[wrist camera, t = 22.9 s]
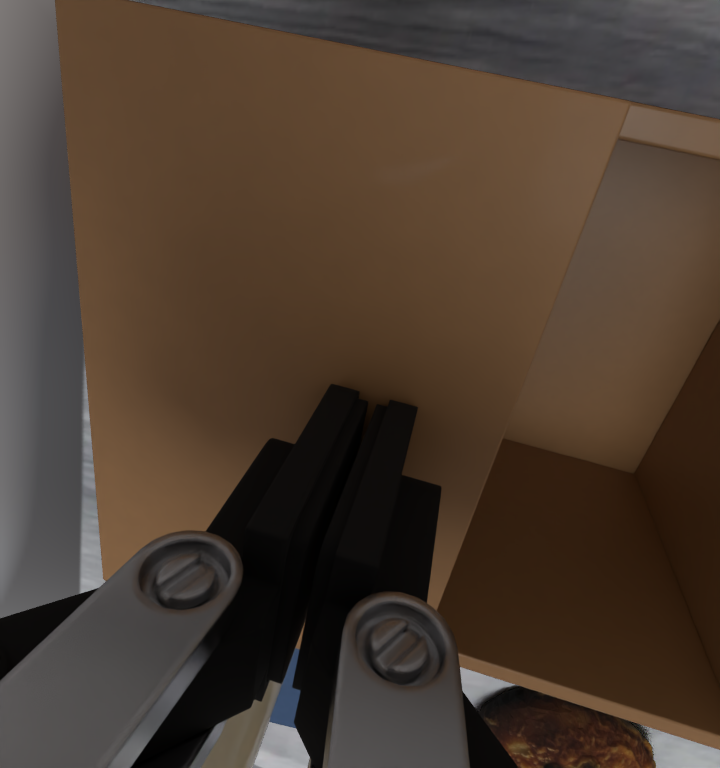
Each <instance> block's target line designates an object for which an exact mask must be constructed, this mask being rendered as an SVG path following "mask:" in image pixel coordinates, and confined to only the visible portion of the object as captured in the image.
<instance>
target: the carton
mask: <svg viewBox="0 0 720 768" xmlns="http://www.w3.org/2000/svg"><path fill="white" fill-rule="evenodd" d="M127 1H129V0H127ZM132 2H134V1H132ZM137 3H139V2H137ZM142 4H144V3H142ZM147 5H149V4H147ZM152 6H154V5H152ZM157 7H159V6H157ZM162 8H164V7H162ZM167 9H169V8H167ZM172 10H174V9H172ZM177 11H179V10H177ZM182 12H184V11H182ZM187 13H189V12H187ZM192 14H194V13H192ZM197 15H199V14H197ZM202 16H204V15H202ZM207 17H209V16H207ZM212 18H214V17H212ZM217 19H219V18H217ZM222 20H224V19H222ZM227 21H229V20H227ZM232 22H234V21H232ZM237 23H239V22H237ZM242 24H244V23H242ZM247 25H249V24H247ZM252 26H254V25H252ZM257 27H259V26H257ZM262 28H264V27H262ZM267 29H269V28H267ZM272 30H273V29H272ZM277 31H278V30H277ZM282 32H283V31H282ZM287 33H288V32H287ZM292 34H293V33H292ZM297 35H298V34H297ZM302 36H303V35H302ZM307 37H308V36H307ZM312 38H313V37H312ZM317 39H318V38H317ZM322 40H323V39H322ZM327 41H328V40H327ZM332 42H333V41H332ZM337 43H338V42H337ZM342 44H343V43H342ZM347 45H348V44H347ZM352 46H353V45H352ZM357 47H358V46H357ZM362 48H363V47H362ZM367 49H368V48H367ZM372 50H373V49H372ZM377 51H378V50H377ZM382 52H383V51H382ZM387 53H388V52H387ZM392 54H393V53H392ZM397 55H398V54H397ZM629 102H631V101H629ZM437 612H438V613H439V614H440V615H441V616H442V617H443V618H444V619H445V620H446V622H447V624H448V625H449V627H450V629H451V630H452V632H453V634H454V637H455V641H456V645H457V648H458V655H459V664H460V667H462V668H466V669H469V670H472V671H475V672H478V673H481V674H484V675H487V676H491V677H494V678H497V679H500V680H503V681H506V682H509V683H512V684H516V685H519V686H522V687H525V688H528V689H531V690H534V691H538V692H541V693H544V694H547V695H550V696H553V697H556V698H559V699H563V700H566V701H569V702H572V703H575V704H578V705H581V706H584V707H588V708H591V709H594V710H597V711H600V712H603V713H606V714H609V715H613V716H616V717H619V718H622V719H625V720H628V721H631V722H634V723H638V724H641V725H644V726H647V727H650V728H653V729H656V730H660V731H663V732H666V733H669V734H672V735H675V736H678V737H681V738H685V739H688V740H691V741H694V742H697V743H700V744H703V745H706V746H710V747H713V748H716V749H719V750H720V119H716V118H711V117H706V116H701V115H696V114H691V113H686V112H681V111H676V110H671V109H666V108H661V107H656V106H651V105H646V104H641V103H636V102H631V106H630V108H629V111H628V114H627V116H626V119H625V121H624V124H623V127H622V129H621V132H620V134H619V137H618V140H617V142H616V145H615V147H614V150H613V153H612V155H611V158H610V160H609V163H608V166H607V168H606V171H605V173H604V176H603V179H602V181H601V184H600V187H599V189H598V192H597V194H596V197H595V200H594V202H593V205H592V207H591V210H590V213H589V215H588V218H587V220H586V223H585V226H584V228H583V231H582V233H581V236H580V239H579V241H578V244H577V246H576V249H575V252H574V254H573V257H572V259H571V262H570V265H569V267H568V270H567V272H566V275H565V278H564V280H563V283H562V286H561V288H560V291H559V293H558V296H557V299H556V301H555V304H554V306H553V309H552V312H551V314H550V317H549V319H548V322H547V325H546V327H545V330H544V332H543V335H542V338H541V340H540V343H539V345H538V348H537V351H536V353H535V356H534V358H533V361H532V364H531V366H530V369H529V371H528V374H527V377H526V379H525V382H524V385H523V387H522V390H521V392H520V395H519V398H518V400H517V403H516V405H515V408H514V411H513V413H512V416H511V418H510V421H509V424H508V426H507V429H506V431H505V434H504V437H503V439H502V442H501V444H500V447H499V450H498V452H497V455H496V457H495V460H494V463H493V465H492V468H491V470H490V473H489V476H488V478H487V481H486V483H485V486H484V489H483V491H482V494H481V497H480V499H479V502H478V504H477V507H476V510H475V512H474V515H473V517H472V520H471V523H470V525H469V528H468V530H467V533H466V536H465V538H464V541H463V543H462V546H461V549H460V551H459V554H458V556H457V559H456V562H455V564H454V567H453V569H452V572H451V575H450V577H449V580H448V582H447V585H446V588H445V590H444V593H443V596H442V598H441V601H440V603H439V606H438V609H437Z"/></svg>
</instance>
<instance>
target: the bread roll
mask: <svg viewBox="0 0 720 768" xmlns="http://www.w3.org/2000/svg"><path fill="white" fill-rule="evenodd" d="M482 707H483V708H482V710H480V711H479V710H478V711H477V712H478V713H479V714H480V716H481V717H482V718H483V720H484V721H485V723H486V724H487V725H488V727H489V728H490V729H491V731H492V732H493V733H494V735H495V736H496V737H497V739H498V740H499V742H500V743H501V744H502V746H503V747H504V748H505V750H506V751H507V752H508V754H509V755H510V756H511V758H512V759H513V761H514V762H515V763H516V765H517V766H518V767H519V768H656V763H655V761H654V760H653V752H652V747H651V745H650V744H649V742H648V741H647V740H646V739H645V737H644V736H643V735H642V734H641V733H640V732H639V731H638V730H637V729H636V728H635V727H634V726H633V725H632V724H631V723H629V722H628V721H627V720H625V719H622V718H619V717H616V716H613V715H609V714H606V713H603V712H600V711H597V710H594V709H591V708H588V707H584V706H581V705H578V704H575V703H572V702H569V701H566V700H563V699H559V698H556V697H553V696H550V695H547V694H544V693H541V692H538V691H534V690H531V689H528V688H524V687H519V688H518V689H517V688H515V689H513V690H510V691H506V692H504V693H503V694H501V695H498V696H497V697H495V698H493V699H491V700H490V701H487V702H485V703H484V704H483V706H482Z"/></svg>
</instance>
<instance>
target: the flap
mask: <svg viewBox="0 0 720 768" xmlns="http://www.w3.org/2000/svg"><path fill="white" fill-rule="evenodd" d="M55 7H56V19H57V30H58V43H59V54H60V66H61V79H62V91H63V102H64V114H65V126H66V138H67V150H68V162H69V173H70V186H71V197H72V210H73V222H74V234H75V246H76V258H77V268H78V269H77V270H78V282H79V293H80V305H81V318H82V330H83V341H84V353H85V365H86V377H87V389H88V401H89V413H90V425H91V437H92V449H93V461H94V473H95V485H96V497H97V509H98V521H99V533H100V545H101V557H102V568H103V579H104V580H106V581H107V580H108V579H109V578H110V577H111V576H112V575H113V574H114V573H115V572H116V571H118V570H119V569H120V568H121V567H122V566H123V565H124V564H125V563H126V562H127V561H128V560H129V559H130V558H131V557H132V556H133V555H135V554H136V553H137V552H138V551H139V550H140V549H141V548H143V547H144V546H145V545H147V544H148V543H150V542H151V541H152V540H154V539H156V538H159V537H161V536H164V535H166V534H169V533H173V532H179V531H185V530H194V531H206V530H207V528H208V527H209V525H210V524H211V523H212V521H213V520H214V518H215V517H216V515H217V514H218V512H219V511H220V509H221V508H222V506H223V505H224V504H225V502H226V501H227V499H228V498H229V496H230V495H231V493H232V492H233V490H234V489H235V487H236V486H237V485H238V483H239V482H240V480H241V479H242V477H243V476H244V474H245V473H246V471H247V470H248V468H249V467H250V466H251V464H252V463H253V461H254V460H255V458H256V457H257V455H258V454H259V452H260V451H261V449H262V448H263V447H264V445H265V444H266V442H267V441H268V440H269V439H271V438H275V439H279V440H282V441H286V442H289V443H293V444H295V443H296V442H297V440H298V438H299V436H300V435H301V433H302V431H303V430H304V428H305V426H306V425H307V423H308V421H309V420H310V418H311V416H312V415H313V413H314V411H315V409H316V408H317V406H318V404H319V403H320V401H321V399H322V398H323V396H324V394H325V393H326V391H327V389H328V388H329V386H330V385H331V384H335V385H339V386H343V387H346V388H350V389H354V390H357V391H359V392H360V394H359V399H361V400H365V401H368V407H367V412H366V417H365V421H364V426H363V430H362V435H361V439H360V443H359V448H360V446H361V443H362V441H363V438H364V436H365V433H366V430H367V428H368V425H369V423H370V420H371V418H372V415H373V413H374V410H375V407H376V405H377V404H380V405H383V406H387V407H388V404H389V401H390V400H394V401H398V402H401V403H405V404H409V405H413V406H416V407H418V410H417V414H416V418H415V422H414V426H413V430H412V434H411V439H410V443H409V447H408V451H407V455H406V459H405V463H404V467H403V471H402V475H404V476H408V477H411V478H415V479H418V480H422V481H425V482H429V483H432V484H436V485H439V486H441V488H442V489H441V499H440V506H439V514H438V522H437V530H436V537H435V545H434V553H433V560H432V568H431V576H430V584H429V591H428V599H427V604H429V605H431V606H432V607H433V608H434V609H435V610H436V611H437V609H438V606H439V603H440V601H441V598H442V596H443V593H444V590H445V588H446V585H447V582H448V580H449V577H450V575H451V572H452V569H453V567H454V564H455V562H456V559H457V556H458V554H459V551H460V549H461V546H462V543H463V541H464V538H465V536H466V533H467V530H468V528H469V525H470V523H471V520H472V517H473V515H474V512H475V510H476V507H477V504H478V502H479V499H480V497H481V494H482V491H483V489H484V486H485V483H486V481H487V478H488V476H489V473H490V470H491V468H492V465H493V463H494V460H495V457H496V455H497V452H498V450H499V447H500V444H501V442H502V439H503V437H504V434H505V431H506V429H507V426H508V424H509V421H510V418H511V416H512V413H513V411H514V408H515V405H516V403H517V400H518V398H519V395H520V392H521V390H522V387H523V385H524V382H525V379H526V377H527V374H528V371H529V369H530V366H531V364H532V361H533V358H534V356H535V353H536V351H537V348H538V345H539V343H540V340H541V338H542V335H543V332H544V330H545V327H546V325H547V322H548V319H549V317H550V314H551V312H552V309H553V306H554V304H555V301H556V299H557V296H558V293H559V291H560V288H561V286H562V283H563V280H564V278H565V275H566V272H567V270H568V267H569V265H570V262H571V259H572V257H573V254H574V252H575V249H576V246H577V244H578V241H579V239H580V236H581V233H582V231H583V228H584V226H585V223H586V220H587V218H588V215H589V213H590V210H591V207H592V205H593V202H594V200H595V197H596V194H597V192H598V189H599V187H600V184H601V181H602V179H603V176H604V173H605V171H606V168H607V166H608V163H609V160H610V158H611V155H612V153H613V150H614V147H615V145H616V142H617V140H618V137H619V134H620V132H621V129H622V127H623V124H624V121H625V119H626V116H627V114H628V111H629V108H630V106H631V102H629V101H628V100H623V99H618V98H613V97H608V96H603V95H598V94H593V93H588V92H583V91H578V90H573V89H568V88H563V87H558V86H553V85H548V84H543V83H538V82H533V81H528V80H523V79H518V78H513V77H508V76H503V75H498V74H493V73H488V72H483V71H478V70H473V69H468V68H463V67H458V66H453V65H448V64H443V63H438V62H433V61H428V60H423V59H418V58H413V57H408V56H403V55H397V54H392V53H387V52H382V51H377V50H372V49H367V48H362V47H357V46H352V45H347V44H342V43H337V42H332V41H327V40H322V39H317V38H312V37H307V36H302V35H297V34H292V33H287V32H282V31H277V30H272V29H267V28H262V27H257V26H252V25H247V24H242V23H237V22H232V21H227V20H222V19H217V18H212V17H207V16H202V15H197V14H192V13H187V12H182V11H177V10H172V9H167V8H162V7H157V6H152V5H147V4H142V3H137V2H132V1H127V0H55ZM359 448H358V451H359ZM357 453H358V452H357ZM304 625H305V623H304ZM303 630H304V626H303V629H302V631H301V634H300V637H299V639H298V642H297V645H296V648H297V649H300V645H301V640H302V635H303Z"/></svg>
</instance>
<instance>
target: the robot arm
mask: <svg viewBox="0 0 720 768" xmlns="http://www.w3.org/2000/svg"><path fill="white" fill-rule="evenodd" d="M359 394H360V392H359V391H357V390H354V389H350V388H346V387H343V386H339V385H335V384H331V385H330V386H329V388H328V389H327V391H326V393H325V394H324V396H323V398H322V399H321V401H320V403H319V404H318V406H317V408H316V409H315V411H314V413H313V415H312V416H311V418H310V420H309V421H308V423H307V425H306V426H305V428H304V430H303V431H302V433H301V435H300V436H299V438H298V440H297V442H296V443H295V444H293V443H289V442H286V441H282V440H279V439H275V438H271V439H269V440H268V441H267V442H266V444H265V445H264V447H263V448H262V449H261V451H260V452H259V454H258V455H257V457H256V458H255V460H254V461H253V463H252V464H251V466H250V467H249V468H248V470H247V471H246V473H245V474H244V476H243V477H242V479H241V480H240V482H239V483H238V485H237V486H236V487H235V489H234V490H233V492H232V493H231V495H230V496H229V498H228V499H227V501H226V502H225V504H224V505H223V506H222V508H221V509H220V511H219V512H218V514H217V515H216V517H215V518H214V520H213V521H212V523H211V524H210V525H209V527H208V528H207V530H206V531H194V530H185V531H179V532H173V533H169V534H166V535H164V536H161V537H159V538H156V539H154V540H152V541H151V542H150V543H148V544H147V545H145V546H144V547H143V548H141V549H140V550H139V551H138V552H137V553H136V554H135V555H133V556H132V557H131V558H130V559H129V560H128V561H127V562H126V563H125V564H124V565H123V566H122V567H121V568H120V569H119V570H118V571H116V572H115V573H114V574H113V575H112V576H111V577H110V578H109V579H108V580H107V581H106V582H105V583H104V584H103V585H102V586H101V587H99V588H97V589H94V590H91V591H88V592H84V593H81V594H78V595H75V596H71V597H68V598H65V599H62V600H58V601H55V602H52V603H49V604H46V605H42V606H39V607H36V608H32V609H29V610H26V611H23V612H20V613H16V614H13V615H10V616H7V617H4V618H0V768H201V767H202V765H203V764H204V762H205V760H206V759H207V757H208V755H209V754H210V752H211V750H212V749H213V747H214V745H215V744H216V742H217V740H218V739H219V737H220V735H221V733H222V731H223V728H224V726H225V724H226V721H227V719H229V718H231V717H233V716H235V715H237V714H239V713H241V712H243V711H246V710H248V709H250V708H251V706H252V704H253V701H254V700H257V701H260V702H262V700H263V697H264V695H265V692H266V689H267V687H268V684H269V682H270V681H273V682H276V683H279V684H282V682H283V680H284V678H285V675H286V672H287V670H288V667H289V664H290V661H291V659H292V656H293V653H294V650H295V648H296V645H297V642H298V639H299V637H300V634H301V631H302V629H303V626H304V630H303V635H302V640H301V645H300V650H299V655H298V660H297V665H296V670H295V675H294V680H293V684H292V688H294V689H297V690H300V696H299V700H298V705H297V710H296V714H295V719H294V724H295V726H296V729H297V731H298V733H299V735H300V737H301V739H302V741H303V743H304V746H305V748H306V750H307V752H308V754H309V756H310V760H309V763H308V768H519V767H518V766H517V765H516V763H515V762H514V761H513V759H512V758H511V756H510V755H509V754H508V752H507V751H506V750H505V748H504V747H503V746H502V744H501V743H500V742H499V740H498V739H497V737H496V736H495V735H494V733H493V732H492V731H491V729H490V728H489V727H488V725H487V724H486V723H485V721H484V720H483V718H482V717H481V716H480V714H479V713H478V712H477V710H476V709H475V708H474V706H473V705H472V704H471V702H470V701H469V699H468V698H467V697H466V695H465V694H464V693H463V691H462V684H461V674H460V664H459V655H458V648H457V645H456V641H455V637H454V634H453V632H452V630H451V629H450V627H449V625H448V624H447V622H446V620H445V619H444V618H443V617H442V616H441V615H440V614H439V613H438V612H437V611H436V610H435V609H434V608H433V607H432V606H431V605H429V604H427V599H428V591H429V584H430V576H431V568H432V560H433V553H434V545H435V537H436V530H437V522H438V514H439V506H440V499H441V489H442V488H441V486H439V485H436V484H432V483H429V482H425V481H422V480H418V479H415V478H411V477H408V476H404V475H402V471H403V467H404V463H405V459H406V455H407V451H408V447H409V443H410V439H411V434H412V430H413V426H414V422H415V418H416V414H417V410H418V407H416V406H413V405H409V404H405V403H401V402H398V401H394V400H390V401H389V404H388V407H387V406H383V405H380V404H377V405H376V407H375V410H374V413H373V415H372V418H371V420H370V423H369V425H368V428H367V430H366V433H365V436H364V438H363V441H362V443H361V446H360V448H359V443H360V439H361V435H362V430H363V426H364V421H365V417H366V412H367V407H368V401H365V400H361V399H359ZM358 448H359V451H358ZM357 452H358V453H357ZM304 623H305V625H304Z"/></svg>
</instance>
